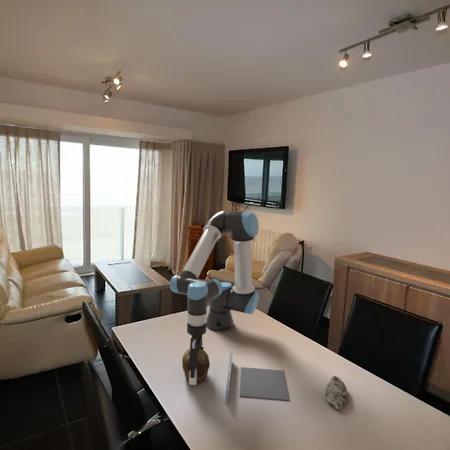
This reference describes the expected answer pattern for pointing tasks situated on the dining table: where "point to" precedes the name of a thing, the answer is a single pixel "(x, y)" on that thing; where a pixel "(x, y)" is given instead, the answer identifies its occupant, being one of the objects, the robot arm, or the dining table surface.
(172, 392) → the dining table surface
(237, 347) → the dining table surface
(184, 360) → the ribbed globe cactus
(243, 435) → the dining table surface
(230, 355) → the acrylic wall
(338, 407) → the mineral rock
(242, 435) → the dining table surface
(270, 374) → the rest mat
